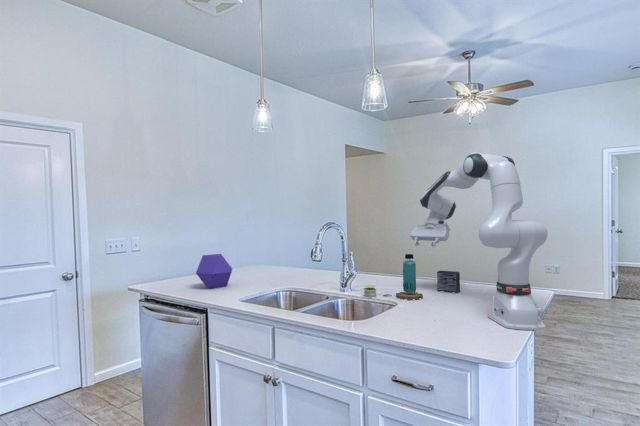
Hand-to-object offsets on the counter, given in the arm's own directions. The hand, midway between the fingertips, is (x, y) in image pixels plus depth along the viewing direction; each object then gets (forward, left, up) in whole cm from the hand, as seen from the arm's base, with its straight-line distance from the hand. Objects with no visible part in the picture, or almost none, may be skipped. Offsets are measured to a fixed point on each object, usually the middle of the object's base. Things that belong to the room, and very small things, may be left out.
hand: (424, 245), depth 199 cm
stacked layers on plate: (-9, +28, -26) cm, 39 cm away
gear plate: (-9, +9, -25) cm, 28 cm away
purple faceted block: (+7, +119, -25) cm, 122 cm away
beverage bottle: (-8, +8, -24) cm, 27 cm away
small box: (+8, -13, -25) cm, 30 cm away
